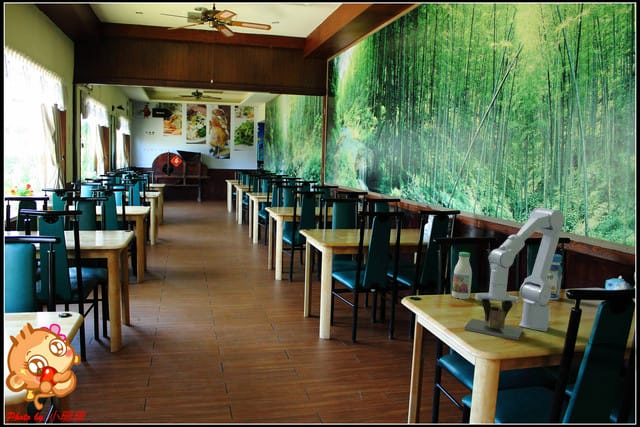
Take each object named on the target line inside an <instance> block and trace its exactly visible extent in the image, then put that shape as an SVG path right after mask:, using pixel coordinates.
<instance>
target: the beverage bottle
mask: <svg viewBox="0 0 640 427" xmlns="http://www.w3.org/2000/svg"><path fill="white" fill-rule="evenodd" d="M562 262H563V256H562V255H561V254H557V253H554V257H553V260H552V264H551V267H550V270H549V274H548V277H547V281H548V282H549V283H550V285H551V286H552V288H551V298H550V301H551V300H556V301H557V300H559V299H560V292H561V287H562V286H561V285H562V284H561V283H562V278H563V275H562V274H563V267H562V265H561V264H562Z"/></svg>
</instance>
